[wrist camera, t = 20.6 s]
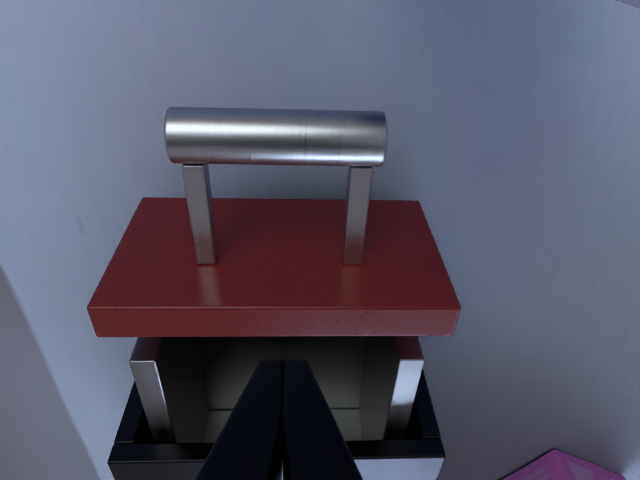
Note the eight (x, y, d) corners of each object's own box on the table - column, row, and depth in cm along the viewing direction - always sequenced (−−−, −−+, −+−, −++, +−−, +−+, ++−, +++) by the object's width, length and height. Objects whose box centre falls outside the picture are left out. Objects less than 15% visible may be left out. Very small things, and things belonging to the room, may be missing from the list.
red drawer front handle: (113, 63, 14) (25, 143, 10) (443, 72, 15) (509, 152, 10) (186, 401, 24) (161, 519, 20) (381, 399, 25) (400, 513, 20)
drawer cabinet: (159, 304, 21) (106, 463, 15) (406, 304, 22) (447, 456, 16) (194, 459, 29) (168, 603, 23) (375, 456, 30) (394, 595, 24)
